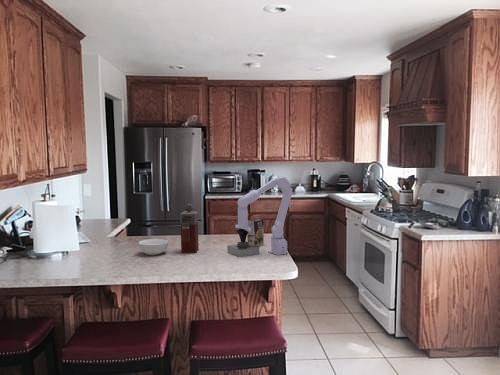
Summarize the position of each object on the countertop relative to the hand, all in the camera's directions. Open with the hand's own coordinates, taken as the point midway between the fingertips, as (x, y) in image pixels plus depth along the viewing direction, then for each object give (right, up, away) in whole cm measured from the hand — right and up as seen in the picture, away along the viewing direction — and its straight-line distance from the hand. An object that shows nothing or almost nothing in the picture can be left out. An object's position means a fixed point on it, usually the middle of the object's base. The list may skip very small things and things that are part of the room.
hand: (243, 242), depth 244 cm
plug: (0, -5, 0) cm, 5 cm away
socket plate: (0, -6, 0) cm, 6 cm away
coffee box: (+8, -5, +21) cm, 22 cm away
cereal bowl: (-52, -7, +2) cm, 52 cm away
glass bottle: (-31, -7, +6) cm, 33 cm away
